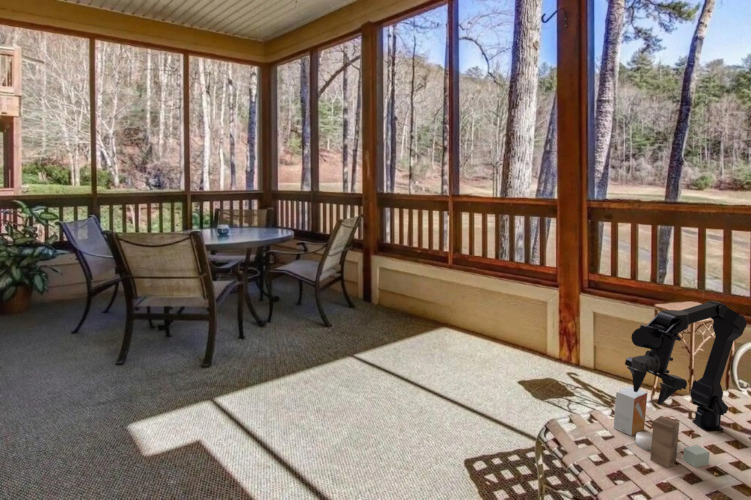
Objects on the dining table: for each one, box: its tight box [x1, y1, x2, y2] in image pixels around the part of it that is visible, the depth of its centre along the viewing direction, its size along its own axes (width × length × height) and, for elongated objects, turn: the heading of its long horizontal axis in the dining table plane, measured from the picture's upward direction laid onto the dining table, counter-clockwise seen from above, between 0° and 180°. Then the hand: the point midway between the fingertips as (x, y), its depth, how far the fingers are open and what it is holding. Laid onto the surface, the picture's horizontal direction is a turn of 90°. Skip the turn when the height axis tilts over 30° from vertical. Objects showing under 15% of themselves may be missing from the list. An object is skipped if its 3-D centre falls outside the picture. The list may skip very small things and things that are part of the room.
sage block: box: [682, 444, 710, 468], centre depth 143 cm, size 5×4×4 cm
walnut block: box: [649, 415, 680, 469], centre depth 143 cm, size 5×5×12 cm
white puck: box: [635, 431, 652, 451], centre depth 152 cm, size 6×6×3 cm
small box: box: [613, 385, 648, 437], centre depth 161 cm, size 8×6×13 cm
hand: (646, 398), depth 154 cm, fingers open, 9 cm apart
